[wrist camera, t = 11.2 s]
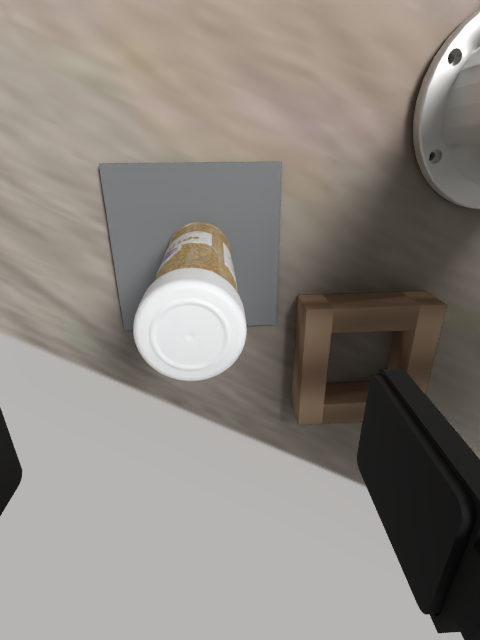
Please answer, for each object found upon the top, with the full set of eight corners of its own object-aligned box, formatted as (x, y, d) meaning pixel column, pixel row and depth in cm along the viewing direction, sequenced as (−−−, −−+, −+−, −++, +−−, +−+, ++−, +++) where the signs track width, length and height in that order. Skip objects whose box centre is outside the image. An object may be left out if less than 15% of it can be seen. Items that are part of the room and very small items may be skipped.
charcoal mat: (101, 163, 24) (98, 163, 24) (280, 161, 25) (282, 161, 24) (125, 327, 29) (124, 330, 29) (275, 321, 30) (276, 324, 29)
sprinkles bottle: (181, 209, 25) (154, 261, 13) (241, 237, 26) (268, 308, 14) (158, 268, 27) (115, 364, 15) (216, 292, 28) (220, 399, 16)
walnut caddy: (297, 295, 29) (306, 309, 26) (425, 290, 30) (447, 304, 27) (291, 403, 33) (298, 425, 31) (402, 397, 34) (419, 418, 31)
